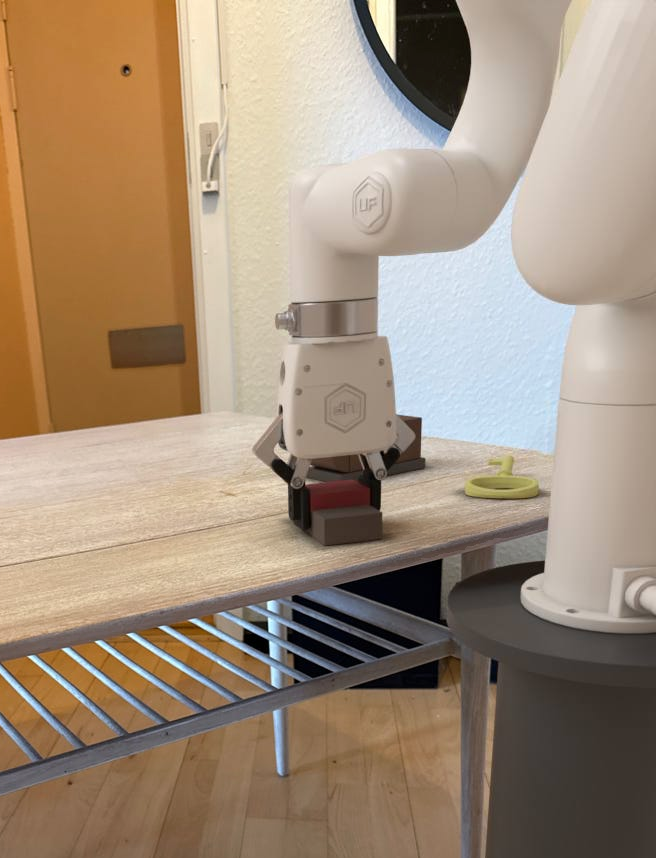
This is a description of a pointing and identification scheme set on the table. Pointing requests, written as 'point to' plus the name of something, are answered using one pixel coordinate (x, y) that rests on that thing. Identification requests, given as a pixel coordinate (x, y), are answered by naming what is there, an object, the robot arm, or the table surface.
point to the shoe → (351, 464)
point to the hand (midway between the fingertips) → (334, 521)
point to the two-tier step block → (343, 513)
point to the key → (502, 483)
